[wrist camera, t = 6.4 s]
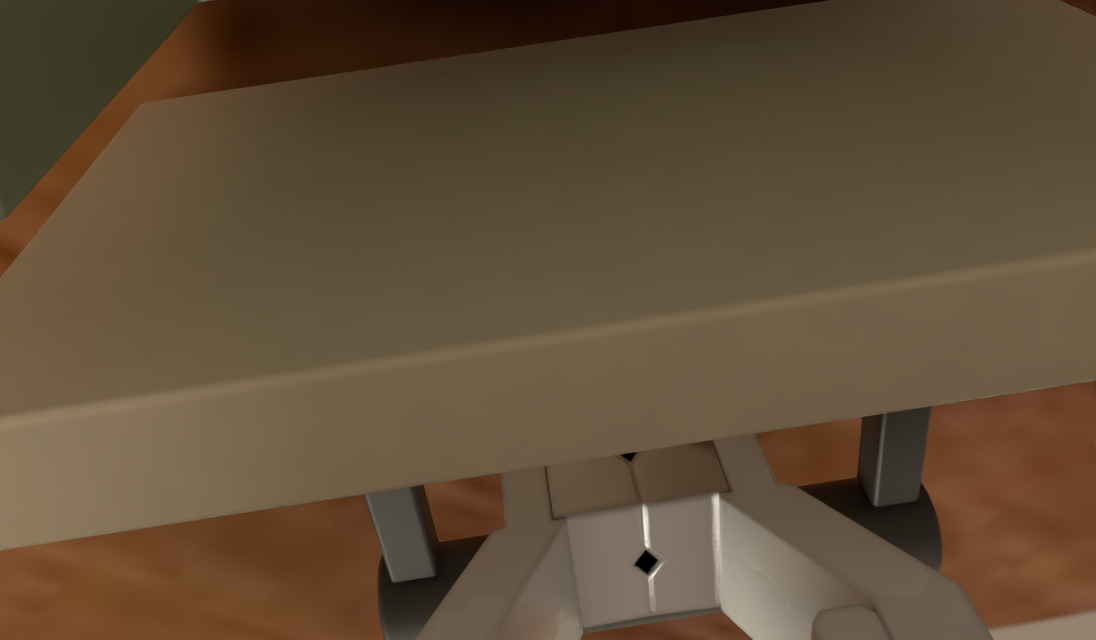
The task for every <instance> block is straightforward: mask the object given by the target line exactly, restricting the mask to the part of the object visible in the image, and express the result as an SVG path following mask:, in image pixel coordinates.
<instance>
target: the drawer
mask: <svg viewBox="0 0 1096 640" xmlns="http://www.w3.org/2000/svg"><path fill="white" fill-rule="evenodd" d="M206 1H213V0H0V221H1V220H3V219H4V218H6V217H8V216H9V214H10V213H11V212H12V211H13V210H14V209H15V208H16V207H17V205H18V204H19V203H20V202H21V201H22V200H23V199H24V198H25V196H26V195H27V194H28V193H29V192H30V191H31V190H32V189H33V188H34V186H35V185H36V184H37V183H38V182H39V181H40V180H41V179H42V177H43V176H44V175H45V174H46V173H47V172H48V171H49V170H50V169H51V167H52V166H53V165H54V164H55V163H56V162H57V161H58V160H59V158H60V157H61V156H62V155H63V154H64V153H65V152H66V151H67V149H68V148H69V147H70V146H71V145H72V144H73V143H74V142H75V141H76V139H77V138H78V137H79V136H80V135H81V134H82V133H83V132H84V130H85V129H86V128H87V127H88V126H89V125H90V124H91V123H92V122H93V120H94V119H95V118H96V117H97V116H98V115H99V114H100V113H101V111H102V110H103V109H104V108H105V107H106V106H107V105H108V104H109V102H110V101H111V100H112V99H113V98H114V97H115V96H116V95H117V94H118V92H119V91H120V90H121V89H122V88H123V87H124V86H125V85H126V83H127V82H128V81H129V80H130V79H131V78H132V77H133V76H134V74H135V73H136V72H137V71H138V70H139V69H140V68H141V67H142V66H143V64H144V63H145V62H146V61H147V60H148V59H149V58H150V57H151V55H152V54H153V53H154V52H155V51H156V50H157V49H158V48H159V47H160V45H161V44H162V43H163V42H164V41H165V40H166V39H167V38H168V36H169V35H170V34H171V33H172V32H173V31H174V30H175V29H176V27H177V26H178V25H179V24H180V23H181V22H182V21H183V20H184V19H185V17H186V16H187V15H188V14H189V13H190V12H191V11H192V10H193V8H194V7H195V6H196V5H197V4H198V3H200V2H206ZM1090 381H1096V16H1094V15H1091V14H1089V13H1087V12H1085V11H1082V10H1080V9H1078V8H1076V7H1074V6H1071V5H1069V4H1067V3H1065V2H1062V1H1060V0H828V1H822V2H815V3H808V4H801V5H795V6H788V7H781V8H775V9H768V10H761V11H754V12H748V13H741V14H734V15H728V16H721V17H714V18H708V19H701V20H694V21H687V22H681V23H674V24H667V25H661V26H654V27H647V28H640V29H634V30H627V31H620V32H614V33H607V34H600V35H594V36H587V37H580V38H573V39H567V40H560V41H553V42H547V43H540V44H533V45H526V46H520V47H513V48H506V49H500V50H493V51H486V52H480V53H473V54H466V55H459V56H453V57H446V58H439V59H433V60H426V61H419V62H412V63H406V64H399V65H392V66H386V67H379V68H372V69H366V70H359V71H352V72H345V73H339V74H332V75H325V76H319V77H312V78H305V79H298V80H292V81H285V82H278V83H272V84H265V85H258V86H252V87H245V88H238V89H231V90H225V91H218V92H211V93H205V94H198V95H191V96H184V97H178V98H171V99H164V100H158V101H151V102H144V103H142V104H141V105H140V106H139V107H138V108H137V109H136V111H135V112H134V113H133V114H132V116H131V117H130V118H129V119H128V121H127V122H126V123H125V124H124V126H123V127H122V128H121V129H120V130H119V132H118V133H117V134H116V135H115V137H114V138H113V139H112V140H111V142H110V143H109V144H108V145H107V147H106V148H105V149H104V150H103V152H102V153H101V154H100V155H99V156H98V158H97V159H96V160H95V161H94V163H93V164H92V165H91V166H90V168H89V169H88V170H87V171H86V173H85V174H84V175H83V176H82V178H81V179H80V180H79V181H78V183H77V184H76V185H75V186H74V187H73V189H72V190H71V191H70V192H69V194H68V195H67V196H66V197H65V199H64V200H63V201H62V202H61V204H60V205H59V206H58V207H57V209H56V210H55V211H54V212H53V214H52V215H51V216H50V217H49V218H48V220H47V221H46V222H45V223H44V225H43V226H42V227H41V228H40V230H39V231H38V232H37V233H36V235H35V236H34V237H33V238H32V240H31V241H30V242H29V243H28V245H27V246H26V247H25V248H24V249H23V251H22V252H21V253H20V254H19V256H18V257H17V258H16V259H15V261H14V262H13V263H12V264H11V266H10V267H9V268H8V269H7V271H6V272H5V273H4V274H3V275H2V277H1V278H0V550H6V549H13V548H19V547H26V546H32V545H39V544H45V543H51V542H58V541H64V540H71V539H77V538H84V537H90V536H97V535H103V534H109V533H116V532H122V531H129V530H135V529H142V528H148V527H155V526H161V525H168V524H174V523H180V522H187V521H193V520H200V519H206V518H213V517H219V516H226V515H232V514H239V513H245V512H251V511H258V510H264V509H271V508H277V507H284V506H290V505H297V504H303V503H309V502H316V501H322V500H329V499H335V498H342V497H348V496H355V495H361V494H364V497H365V500H366V503H367V507H368V510H369V513H370V516H371V519H372V522H373V526H374V529H375V532H376V535H377V538H378V542H379V545H380V548H381V551H382V554H383V555H382V557H381V560H380V564H379V570H378V585H377V586H378V607H379V616H380V623H381V629H382V634H383V638H384V640H415V638H416V637H417V636H418V634H419V633H420V631H421V630H422V629H423V627H424V626H425V624H426V623H427V622H428V620H429V619H430V617H431V616H432V614H433V613H434V612H435V610H436V609H437V607H438V606H439V605H440V603H441V602H442V600H443V599H444V598H445V596H446V595H447V593H448V592H449V591H450V589H451V588H452V586H453V585H454V584H455V582H456V581H457V579H458V578H459V577H460V575H461V574H462V572H463V571H464V570H465V568H466V567H467V565H468V564H469V563H470V561H471V560H472V558H473V557H474V556H475V554H476V553H477V551H478V550H479V549H480V547H481V546H482V544H483V543H484V542H485V540H486V539H487V537H488V536H489V535H484V536H478V537H471V538H465V539H458V540H452V541H446V542H438V538H437V534H436V531H435V527H434V523H433V519H432V515H431V512H430V508H429V504H428V500H427V497H426V493H425V489H424V485H426V484H432V483H439V482H445V481H451V480H458V479H464V478H471V477H477V476H484V475H490V474H497V473H503V472H509V471H516V470H522V469H529V468H535V467H542V466H548V465H555V464H561V463H568V462H574V461H580V460H587V459H593V458H600V457H606V456H613V455H619V454H626V453H632V452H639V451H645V450H651V449H658V448H664V447H671V446H677V445H684V444H690V443H697V442H703V441H709V440H716V439H722V438H729V437H735V436H742V435H748V434H755V433H761V432H768V431H774V430H780V429H787V428H793V427H800V426H806V425H813V424H819V423H826V422H832V421H839V420H845V419H851V418H858V417H862V426H861V438H860V450H859V461H858V473H857V477H856V478H850V479H843V480H837V481H831V482H824V483H818V484H811V485H805V486H799V487H798V488H799V489H801V490H803V491H804V492H806V493H808V494H809V495H811V496H813V497H814V498H816V499H818V500H819V501H821V502H823V503H824V504H826V505H828V506H829V507H831V508H833V509H834V510H836V511H838V512H839V513H841V514H843V515H844V516H846V517H848V518H849V519H851V520H853V521H854V522H856V523H858V524H859V525H861V526H863V527H864V528H866V529H868V530H869V531H871V532H873V533H874V534H876V535H878V536H879V537H881V538H883V539H884V540H886V541H888V542H889V543H891V544H893V545H894V546H896V547H898V548H899V549H901V550H903V551H904V552H906V553H908V554H909V555H911V556H913V557H914V558H916V559H918V560H919V561H921V562H922V563H924V564H926V565H927V566H929V567H931V568H932V569H934V570H936V571H937V572H939V570H940V567H941V563H942V540H941V533H940V527H939V523H938V519H937V515H936V512H935V509H934V507H933V504H932V502H931V499H930V497H929V495H928V493H927V491H926V489H925V487H924V486H923V484H922V483H921V478H922V470H923V463H924V456H925V448H926V441H927V434H928V427H929V419H930V412H931V406H935V405H942V404H948V403H955V402H961V401H968V400H974V399H980V398H987V397H993V396H1000V395H1006V394H1013V393H1019V392H1026V391H1032V390H1039V389H1045V388H1051V387H1058V386H1064V385H1071V384H1077V383H1084V382H1090ZM718 612H723V611H722V610H721V607H714V608H707V609H699V610H691V611H684V612H676V613H668V614H661V615H653V616H647V617H642V618H636V619H631V620H626V621H620V622H615V623H609V624H604V625H599V626H593V627H588V628H583V634H585V633H591V632H597V631H604V630H610V629H616V628H623V627H629V626H635V625H642V624H648V623H655V622H661V621H667V620H674V619H680V618H686V617H693V616H699V615H705V614H712V613H718Z"/></svg>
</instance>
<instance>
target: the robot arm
mask: <svg viewBox="0 0 1096 640" xmlns="http://www.w3.org/2000/svg"><path fill="white" fill-rule="evenodd" d="M500 474H501V487H502V499H503V512H504V525H505V528H500V529H494V530H492V532H491V533H490V535H489V536H488V537H487V539H486V540H485V542H484V543H483V544H482V546H481V547H480V549H479V550H478V551H477V553H476V554H475V556H474V557H473V558H472V560H471V561H470V563H469V564H468V565H467V567H466V568H465V570H464V571H463V572H462V574H461V575H460V577H459V578H458V579H457V581H456V582H455V584H454V585H453V586H452V588H451V589H450V591H449V592H448V593H447V595H446V596H445V598H444V599H443V600H442V602H441V603H440V605H439V606H438V607H437V609H436V610H435V612H434V613H433V614H432V616H431V617H430V619H429V620H428V622H427V623H426V624H425V626H424V627H423V629H422V630H421V631H420V633H419V634H418V636H417V637H416V638H415V640H580V639H581V637H582V634H583V628H588V627H593V626H599V625H604V624H609V623H615V622H620V621H626V620H631V619H636V618H642V617H647V616H653V615H661V614H668V613H676V612H684V611H691V610H699V609H707V608H714V607H721V610H722V611H723V612H724V613H725V614H726V615H727V616H728V617H729V618H730V619H732V620H733V621H734V622H735V623H736V624H737V625H738V626H739V627H740V628H741V629H742V630H743V631H744V632H745V633H747V634H748V635H749V636H750V637H751V638H752V639H753V640H994V639H993V638H992V636H991V634H990V633H989V631H988V629H987V628H986V626H985V625H984V623H983V621H982V620H981V618H980V616H979V615H978V613H977V611H976V610H975V608H974V606H973V605H972V603H971V601H970V600H969V598H968V596H967V595H966V593H965V591H964V590H963V588H962V587H961V585H959V584H957V583H956V582H954V581H952V580H951V579H949V578H947V577H946V576H944V575H942V574H941V573H939V572H937V571H936V570H934V569H932V568H931V567H929V566H927V565H926V564H924V563H922V562H921V561H919V560H918V559H916V558H914V557H913V556H911V555H909V554H908V553H906V552H904V551H903V550H901V549H899V548H898V547H896V546H894V545H893V544H891V543H889V542H888V541H886V540H884V539H883V538H881V537H879V536H878V535H876V534H874V533H873V532H871V531H869V530H868V529H866V528H864V527H863V526H861V525H859V524H858V523H856V522H854V521H853V520H851V519H849V518H848V517H846V516H844V515H843V514H841V513H839V512H838V511H836V510H834V509H833V508H831V507H829V506H828V505H826V504H824V503H823V502H821V501H819V500H818V499H816V498H814V497H813V496H811V495H809V494H808V493H806V492H804V491H803V490H801V489H799V488H798V487H796V486H794V485H793V484H791V483H788V484H781V485H778V482H777V480H776V478H775V476H774V474H773V471H772V469H771V467H770V465H769V463H768V460H767V458H766V456H765V454H764V452H763V449H762V447H761V445H760V443H759V440H758V438H757V436H756V434H748V435H742V436H735V437H729V438H722V439H716V440H709V441H703V442H697V443H690V444H684V445H677V446H671V447H664V448H658V449H651V450H645V451H639V452H632V453H626V454H619V455H613V456H606V457H600V458H593V459H587V460H580V461H574V462H568V463H561V464H555V465H548V466H542V467H535V468H529V469H522V470H516V471H509V472H503V473H500Z"/></svg>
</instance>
